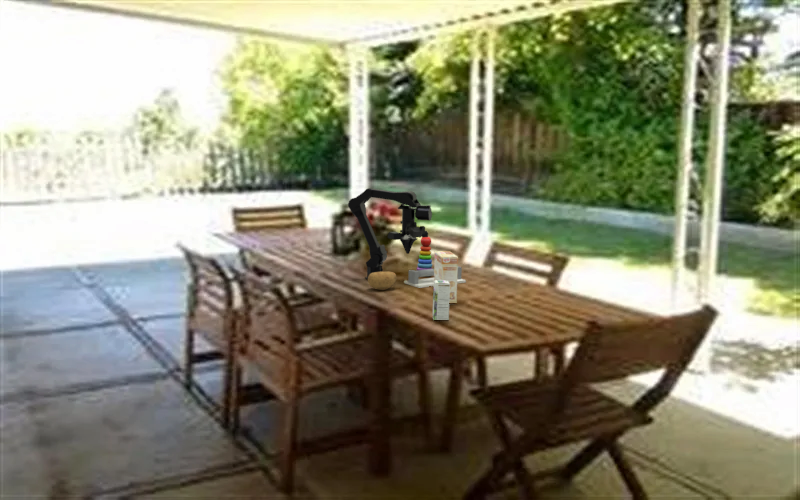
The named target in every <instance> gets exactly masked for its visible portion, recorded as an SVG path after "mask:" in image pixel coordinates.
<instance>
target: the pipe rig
mask: <svg viewBox="0 0 800 500" xmlns="http://www.w3.org/2000/svg"><path fill="white" fill-rule="evenodd" d="M462 275H463V274H462V266H459V265H458V276H457V284H463V283H465V284H466V283H467V280H466V279H463V278H462ZM425 276H426V277H427V278H423V277H425ZM431 276H433V277H431ZM407 277H408V280H404V281H403V283H404V284H406V285H408V286H409V285H410V286H412V287H415V288H418V289H419V288H420V289H421V288H422V289H423V288H430V287H429V286H431V287H434V268H432V269H427V270H417V269H416V270H415V269H409V270H408V276H407Z"/></svg>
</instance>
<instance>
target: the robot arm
mask: <svg viewBox="0 0 800 500" xmlns="http://www.w3.org/2000/svg"><path fill="white" fill-rule="evenodd" d="M371 198H376V199H381V200H382V199H383V200H390V201H393V202H394V201H395V202H397V203H400V205H399V206H398V207H397V209H398V210H401V211H402V212H401V221H400V223H399V224H400V225H401V229H400V231H399V232H398V231H389V232H388V233H387V239H390V240H394V241H396V240H399V241H400V243H401V244H402V247H403V250H404V251H405V253H406V254H407V255H408V254H410V252H411V250H412V246H413V244H414V242H415V241H417V240H418V238H420V239H421V238H422V237H423V238H424V237H429V232H428V231H427V230H426V227H425V226H424V225H420V226H418V225H417V222H416V219H417V220H418V221H430V222H431V220H432V217H433V212H432V208H431V207H432V206H431V205H429V204H427V205H423V204H421V203H420V201H419V200H418V199H417V195H416V193H415V191H412V190H407V191H406V190H405V191H393V190H384V189H378V188H373V187H370V188H366V189H365V190H364V191H363V192H361V193H360V194H359V195H357V196H356V197H353V198H350V199H349V201H348V203H347V205H348V209H349V210H350V212H351V213H352V214H353V216H354V217H356V219H357V221H358V224H359V226H360V228H361V231H362V232H363V235H364V238H365V240H366V242H367V245H368V248H369V256H370V258H369V259H368V260H366V262H365V265H366V277H364V278H365V279H367V280H368V276H369V275H370V274H371V273H374V272H384V269H383V264H384V262H385V261H386V260H387V258H388V255H387V253H388V251H387V250H386V246H385V244H380V243H379V241H378V239H377V237H376V234H375V232H374V229H373V227H372V225H371V223H370V220H369V217H368V215H367V207H366V203H367V202H368V201H370V199H371Z"/></svg>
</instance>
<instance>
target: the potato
mask: <svg viewBox="0 0 800 500" xmlns="http://www.w3.org/2000/svg"><path fill="white" fill-rule="evenodd" d="M397 279H398V278H397V274H396V273H395V272H393V271H383V272H374V273H371V274H370V275H369V276H368V279H367V283H368V285H369V286H370V288H372V289H375V290H380V291H384V290H385V291H386V290H388V289H389V288H391V287H392V286H393V285H395V283H396V282H397Z"/></svg>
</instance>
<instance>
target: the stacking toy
mask: <svg viewBox="0 0 800 500" xmlns="http://www.w3.org/2000/svg"><path fill="white" fill-rule="evenodd" d="M420 244H421V246H420V248H419V249H420V251H419V255H418V257H419V258H418V261H417V262H418V263H417V267H416V271H417V270H427V269H433V263H432V262H433V259H432V251H431V250H432V247H431V245H432V239H431V237H430V236H428V237H424V238H423V237H422V236H421V237H420ZM424 277H427V276H424Z"/></svg>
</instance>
